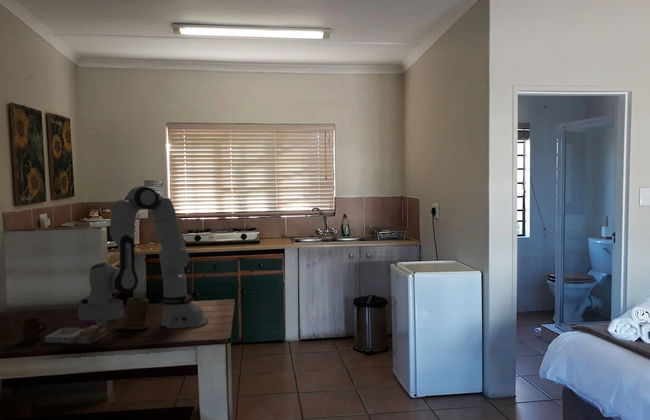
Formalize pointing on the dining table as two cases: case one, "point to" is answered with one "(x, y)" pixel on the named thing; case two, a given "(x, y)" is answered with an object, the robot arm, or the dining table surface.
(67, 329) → the tray
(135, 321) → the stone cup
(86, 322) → the squeegee
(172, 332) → the dining table surface
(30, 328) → the mug
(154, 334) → the dining table surface
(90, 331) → the tile
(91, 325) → the tile
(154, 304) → the dining table surface
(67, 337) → the board
